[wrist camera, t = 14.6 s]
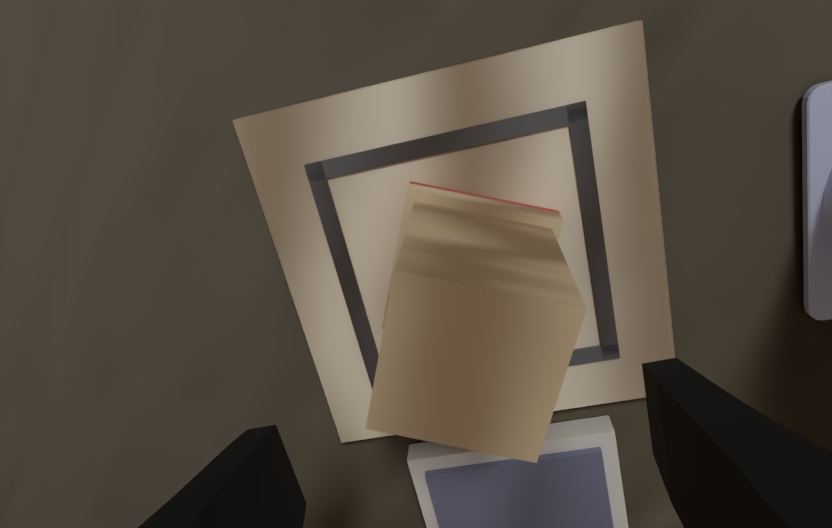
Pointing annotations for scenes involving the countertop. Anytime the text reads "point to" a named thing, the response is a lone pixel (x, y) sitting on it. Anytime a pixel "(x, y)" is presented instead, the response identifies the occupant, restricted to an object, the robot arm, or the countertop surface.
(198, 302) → the countertop surface
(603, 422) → the ink pad
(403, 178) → the marked board
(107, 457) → the countertop surface
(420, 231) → the stamp
